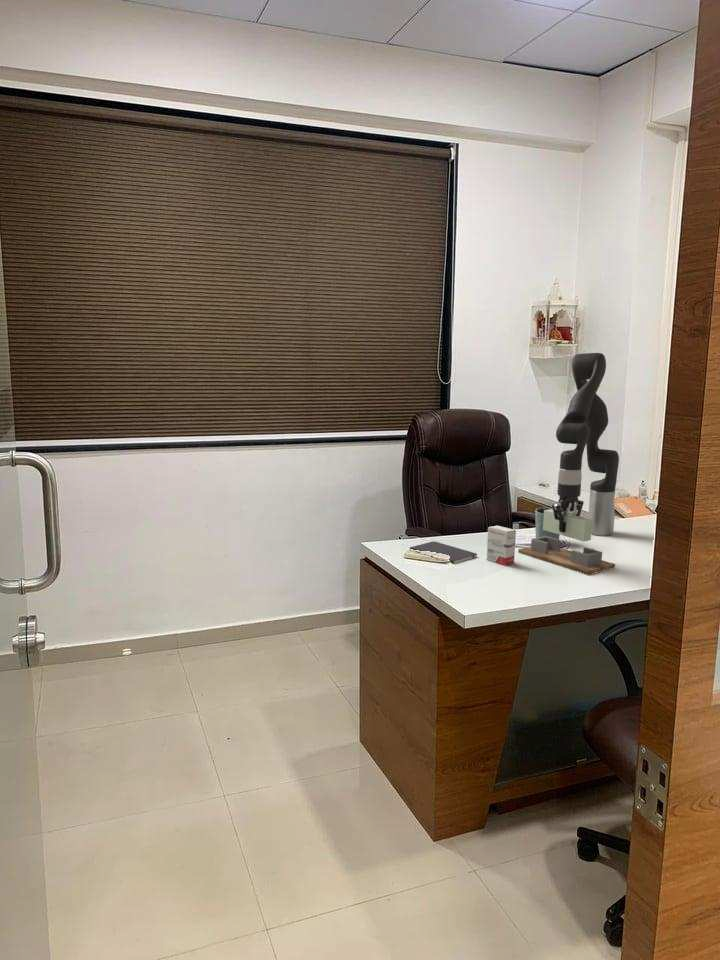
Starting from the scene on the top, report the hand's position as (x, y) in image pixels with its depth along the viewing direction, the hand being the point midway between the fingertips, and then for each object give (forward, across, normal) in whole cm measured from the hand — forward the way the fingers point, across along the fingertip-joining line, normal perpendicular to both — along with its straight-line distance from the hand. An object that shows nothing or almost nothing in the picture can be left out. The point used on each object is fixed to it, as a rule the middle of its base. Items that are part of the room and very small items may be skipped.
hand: (566, 530), depth 240 cm
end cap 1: (+9, 0, -9) cm, 13 cm away
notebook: (+11, +30, -29) cm, 43 cm away
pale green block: (+1, 0, 0) cm, 1 cm away
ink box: (+11, +20, -11) cm, 25 cm away
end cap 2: (+9, 0, +9) cm, 13 cm away
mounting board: (+10, 0, 0) cm, 10 cm away
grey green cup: (+10, -13, -19) cm, 25 cm away
